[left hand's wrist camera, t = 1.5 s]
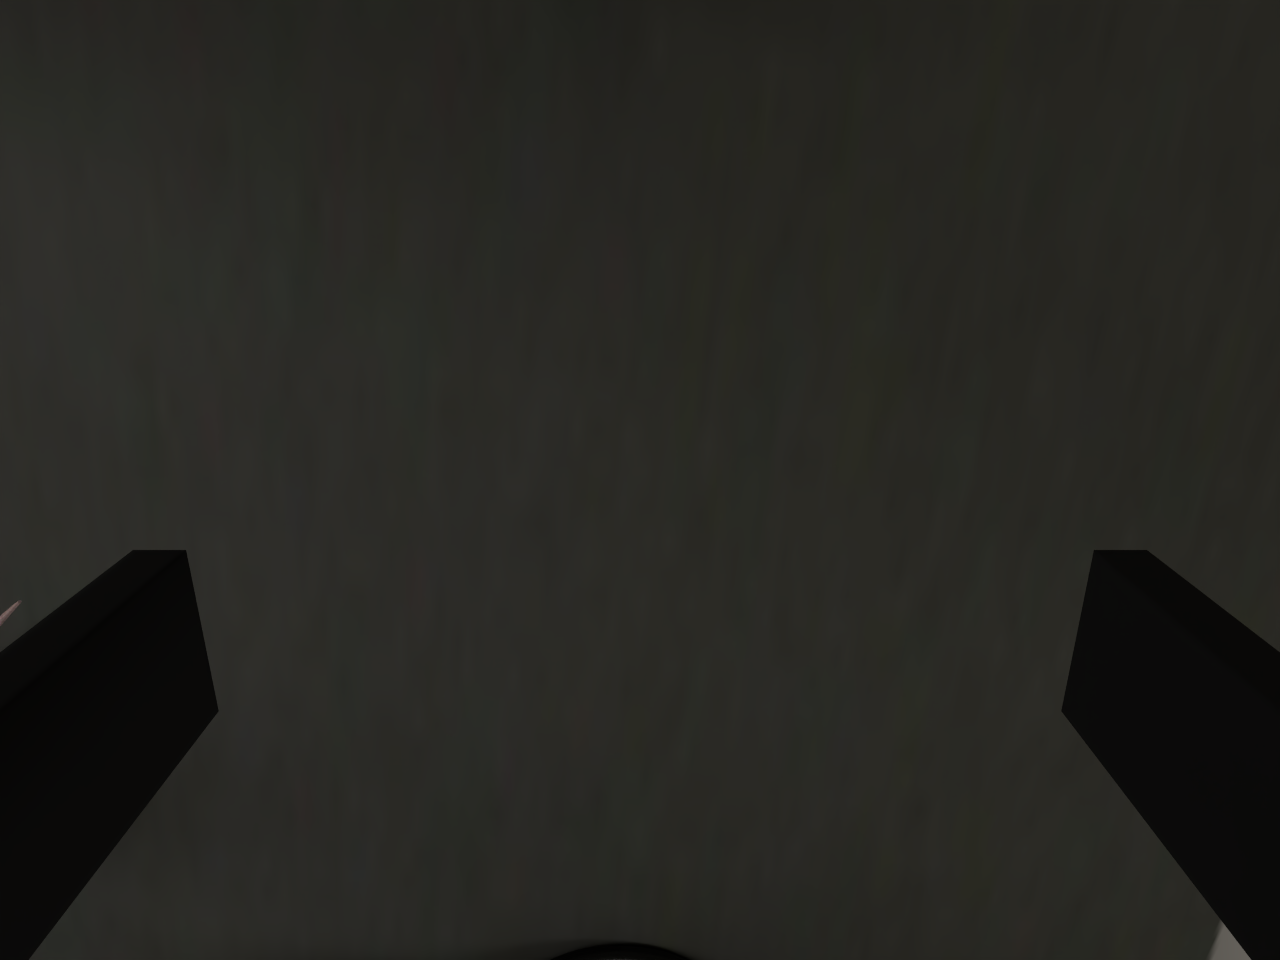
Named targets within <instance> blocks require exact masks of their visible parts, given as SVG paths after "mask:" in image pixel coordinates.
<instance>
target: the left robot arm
mask: <svg viewBox="0 0 1280 960" xmlns="http://www.w3.org/2000/svg"><path fill="white" fill-rule="evenodd" d="M217 712H218V706H217V701H216V696H215V691H214V686H213V681H212V676H211V671H210V666H209V661H208V656H207V651H206V647H205V642H204V637H203V632H202V627H201V622H200V617H199V612H198V607H197V602H196V597H195V592H194V587H193V582H192V577H191V573H190V568H189V563H188V558H187V553H186V550H133V551H131V552H130V553H129V554H127V555H126V556H125V557H123V558H122V559H121V560H120V561H118V562H117V563H116V564H114V565H113V566H112V567H111V568H109V569H108V570H107V571H105V572H104V573H103V574H101V575H100V576H99V577H98V578H96V579H95V580H94V581H92V582H91V583H90V584H88V585H87V586H86V587H85V588H83V589H82V590H81V591H79V592H78V593H77V594H75V595H74V596H73V597H72V598H70V599H69V600H68V601H66V602H65V603H64V604H62V605H61V606H60V607H59V608H57V609H56V610H55V611H53V612H52V613H51V614H49V615H48V616H47V617H46V618H44V619H43V620H42V621H40V622H39V623H38V624H37V625H35V626H34V627H33V628H31V629H30V630H29V631H27V632H26V633H25V634H24V635H22V636H21V637H20V638H18V639H17V640H16V641H14V642H13V643H12V644H11V645H9V646H8V647H7V648H5V649H4V650H3V651H1V652H0V960H29V958H30V957H31V956H32V955H33V953H34V952H35V951H36V949H37V948H38V947H39V945H40V944H41V943H42V941H43V940H44V939H45V938H46V936H47V935H48V934H49V932H50V931H51V930H52V928H53V927H54V926H55V924H56V923H57V922H58V921H59V919H60V918H61V917H62V915H63V914H64V913H65V911H66V910H67V909H68V907H69V906H70V905H71V903H72V902H73V901H74V900H75V898H76V897H77V896H78V894H79V893H80V892H81V890H82V889H83V888H84V886H85V885H86V884H87V883H88V881H89V880H90V879H91V877H92V876H93V875H94V873H95V872H96V871H97V869H98V868H99V867H100V866H101V864H102V863H103V862H104V860H105V859H106V858H107V856H108V855H109V854H110V852H111V851H112V850H113V849H114V847H115V846H116V845H117V843H118V842H119V841H120V839H121V838H122V837H123V835H124V834H125V833H126V832H127V830H128V829H129V828H130V826H131V825H132V824H133V822H134V821H135V820H136V818H137V817H138V816H139V815H140V813H141V812H142V811H143V809H144V808H145V807H146V805H147V804H148V803H149V801H150V800H151V799H152V798H153V796H154V795H155V794H156V792H157V791H158V790H159V788H160V787H161V786H162V784H163V783H164V782H165V781H166V779H167V778H168V777H169V775H170V774H171V773H172V771H173V770H174V769H175V767H176V766H177V765H178V764H179V762H180V761H181V760H182V758H183V757H184V756H185V754H186V753H187V752H188V750H189V749H190V748H191V746H192V745H193V744H194V743H195V741H196V740H197V739H198V737H199V736H200V735H201V733H202V732H203V731H204V729H205V728H206V727H207V726H208V724H209V723H210V722H211V720H212V719H213V718H214V716H215V715H216V714H217ZM1062 712H1063V714H1064V715H1065V716H1066V718H1067V719H1068V720H1069V722H1070V723H1071V724H1072V726H1073V727H1074V728H1075V729H1076V731H1077V732H1078V733H1079V735H1080V736H1081V737H1082V739H1083V740H1084V741H1085V743H1086V744H1087V745H1088V746H1089V748H1090V749H1091V750H1092V752H1093V753H1094V754H1095V756H1096V757H1097V758H1098V760H1099V761H1100V762H1101V764H1102V765H1103V766H1104V767H1105V769H1106V770H1107V771H1108V773H1109V774H1110V775H1111V777H1112V778H1113V779H1114V781H1115V782H1116V783H1117V784H1118V786H1119V787H1120V788H1121V790H1122V791H1123V792H1124V794H1125V795H1126V796H1127V798H1128V799H1129V800H1130V801H1131V803H1132V804H1133V805H1134V807H1135V808H1136V809H1137V811H1138V812H1139V813H1140V815H1141V816H1142V817H1143V818H1144V820H1145V821H1146V822H1147V824H1148V825H1149V826H1150V828H1151V829H1152V830H1153V832H1154V833H1155V834H1156V835H1157V837H1158V838H1159V839H1160V841H1161V842H1162V843H1163V845H1164V846H1165V847H1166V849H1167V850H1168V851H1169V852H1170V854H1171V855H1172V856H1173V858H1174V859H1175V860H1176V862H1177V863H1178V864H1179V866H1180V867H1181V868H1182V869H1183V871H1184V872H1185V873H1186V875H1187V876H1188V877H1189V879H1190V880H1191V881H1192V883H1193V884H1194V885H1195V886H1196V888H1197V889H1198V890H1199V892H1200V893H1201V894H1202V896H1203V897H1204V898H1205V900H1206V901H1207V902H1208V903H1209V905H1210V906H1211V907H1212V909H1213V910H1214V911H1215V913H1216V914H1217V915H1218V917H1219V918H1220V919H1221V921H1222V922H1223V923H1224V924H1225V926H1226V927H1227V928H1228V930H1229V931H1230V932H1231V934H1232V935H1233V936H1234V938H1235V939H1236V940H1237V941H1238V943H1239V944H1240V945H1241V947H1242V948H1243V949H1244V951H1245V952H1246V953H1247V955H1248V956H1249V957H1250V958H1251V960H1280V652H1279V651H1277V650H1276V649H1275V648H1273V647H1272V646H1271V645H1269V644H1268V643H1267V642H1266V641H1264V640H1263V639H1262V638H1260V637H1259V636H1258V635H1256V634H1255V633H1254V632H1253V631H1251V630H1250V629H1249V628H1247V627H1246V626H1245V625H1243V624H1242V623H1241V622H1240V621H1238V620H1237V619H1236V618H1234V617H1233V616H1232V615H1231V614H1229V613H1228V612H1227V611H1225V610H1224V609H1223V608H1221V607H1220V606H1219V605H1218V604H1216V603H1215V602H1214V601H1212V600H1211V599H1210V598H1208V597H1207V596H1206V595H1205V594H1203V593H1202V592H1201V591H1199V590H1198V589H1197V588H1195V587H1194V586H1193V585H1192V584H1190V583H1189V582H1188V581H1186V580H1185V579H1184V578H1182V577H1181V576H1180V575H1179V574H1177V573H1176V572H1175V571H1173V570H1172V569H1171V568H1169V567H1168V566H1167V565H1166V564H1164V563H1163V562H1162V561H1160V560H1159V559H1158V558H1157V557H1155V556H1154V555H1153V554H1151V553H1150V552H1149V551H1147V550H1094V553H1093V558H1092V563H1091V568H1090V573H1089V577H1088V582H1087V587H1086V592H1085V597H1084V602H1083V607H1082V612H1081V617H1080V622H1079V627H1078V632H1077V637H1076V642H1075V647H1074V651H1073V656H1072V661H1071V666H1070V671H1069V676H1068V681H1067V686H1066V691H1065V696H1064V701H1063V706H1062ZM551 960H688V959H685V958H683V957H680V956H678V955H675V954H672V953H668V952H665V951H661V950H657V949H652V948H645V947H638V946H600V947H593V948H587V949H582V950H578V951H574V952H571V953H567V954H564V955H561V956H559V957H556V958H554V959H551Z"/></svg>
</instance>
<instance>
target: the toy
mask: <svg viewBox="0 0 1280 960" xmlns="http://www.w3.org/2000/svg"><path fill="white" fill-rule="evenodd" d="M20 603H21V601H20V600H19V601H17V602H16V603H15V604H14V605H13V606H11V607H10V608H9V609H8V610H7V611H5V612H4V613H3V614H2V615H1V616H0V626H1V625H2V624H3V622H4V621H5V620H6V619H7V618H8V617H9V616H10V614H11V613H12V612H13V611H14V610H15V609H16V608H17V606H18V605H19V604H20Z"/></svg>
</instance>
